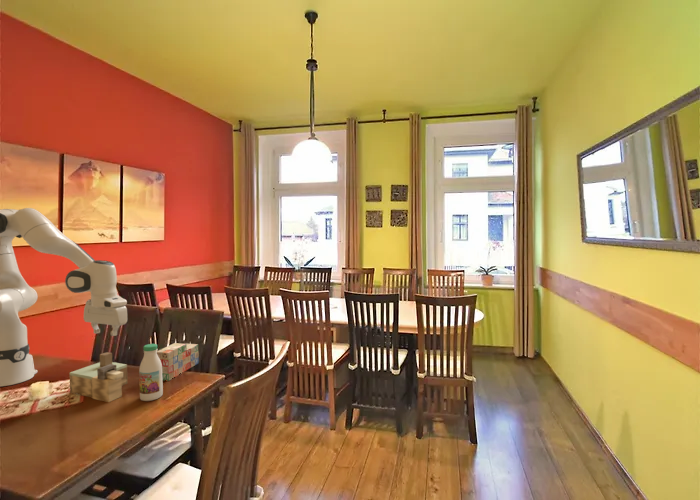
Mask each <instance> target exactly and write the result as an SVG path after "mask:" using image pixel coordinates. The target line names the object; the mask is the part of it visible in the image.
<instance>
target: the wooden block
mask: <svg viewBox="0 0 700 500" xmlns="http://www.w3.org/2000/svg"><path fill="white" fill-rule="evenodd" d="M105 377H106V378H108V379H113V380H118V379H120V378H123V372H120V371H115V370H107V371H105Z"/></svg>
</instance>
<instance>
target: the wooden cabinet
mask: <svg viewBox="0 0 700 500" xmlns="http://www.w3.org/2000/svg"><path fill="white" fill-rule="evenodd" d="M107 370H115V371H116V365H113V364H109V365H107V366H104V367H101V368H98V369H97V374H98V376H95V377H93V378H92V379H87V378H82V377H77V376H71V375H70V374H69V392H70V394H74V395H79V396H83V397H87V398H92V399H93V400H97V401H102V402H106V403H111V402H113V401H115V400H117V399H119V398H122V396H123V391H122V390H123V389H122V388H123V387H122V386H125V385H127V384H128V366H127V367H125V368H123V369H120V370H118V371H120V372H123V378H120V379H118V380H113V379H108V378H106V377H105V371H107Z"/></svg>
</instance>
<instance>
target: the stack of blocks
mask: <svg viewBox="0 0 700 500" xmlns="http://www.w3.org/2000/svg"><path fill="white" fill-rule="evenodd" d="M199 352H200V351H199V344H198V343H197V344H196V343H180V342H179V343H177V342H174V343H172V344H169V345H168V346H166V347H163V348H160V349H158V350H157V355H158V357H159V359H160V361H161V363H162V378H163V381H165V380H167V382H170V381H171V380H173V379H175V378H176V377H178V376H180V375H181V374H183V373H184V372H187V371H188V370H189V369H191V368H193V367H194V366H197V365H198V364H199V363H200V358H199V357H200V355H199V354H200V353H199ZM182 372H183V373H182ZM180 373H181V374H180ZM179 374H180V375H179ZM174 377H175V378H174ZM172 378H173V379H172Z"/></svg>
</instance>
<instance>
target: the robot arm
mask: <svg viewBox="0 0 700 500" xmlns="http://www.w3.org/2000/svg"><path fill="white" fill-rule="evenodd" d="M15 237H16V238H18V239H21V238H23V240H24V241H25V242H26V243H27V244H28V245H29V247H31V248H32V249H34V250H35V251H37V252H39V253H41V254H46V255H47V254H48V255H55V256H60V257H64V258H65V259H67V260H70V261H71V262H73V264H75V265H76V267H78V268H76V269H73V270H70V271H69V272H68V273H67V274H66V276H65V280H64V284H65V287H66V288H67V289H68V291H70V292H72V293H73V294H83V293H87V292H90V299H87V300H86V301H85V305H84V309H83V321H84V322H85V323H90V325H91V327H92V329H93V334H100V333H101V328H100V327H99V324H101V325H108V326H111V328H112V330H111V331H110V336H111V337H114V336H117V335H118V331H119V329H120V326H124V325H126V324H127V322H128V308H127V306H126V305H127V304H128V301H127V299H125V298H123V297H122V296H120V295H118V289H117V282H118V276H117V269H116V266H115V263H114V262H112V261H109V260H99V259H98V260H96V259H94V258H93V257H92V256H91V255H90V254H89V253H88V252H86V251H85V249H83V248H82V247H81V246H80V245H79V244H78V243H77V242H75V241H74V240H72V239H71V238H69V237H68V236H67V235H65V234H64V233H63V232H61V231H60V229H59V228H58V227H57V226H56V225H55V224H54V223H53V222H52V221H51V220H50V219H49V218H47V217H46V216H45V215H44V214H43V213H41V212H40V211H39V210H37V209H36V208H32V207H24V208H21V209H20V208H19V209H15V208H2V209H0V387H6V386H12V385H17V384H20V383H23V382H26V381H29V380H30V379H33V377H34V376H35V375H36V374H37V373H38V370H37V369H35V365H34V359H33V357H34V356H33V355H32V354H31V353H30V344H29V343H28V342H29V341H28V327H27V325H26V324H24V323H23V321H21V319H20V317H19V312H23V311H25V310H27V309H29V308H31V307H32V306H34V305H35V303H36V302H37V301H38V293H37V290H35V289H34V288H33V287H31V286H30V285H29V284H28V283H27V281H26V280H25V278H24V277H23V276H22V273H21V271H20V269H19V266H18V262H17V258H16V254H15V251H14V248H13V239H14V238H15Z"/></svg>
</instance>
